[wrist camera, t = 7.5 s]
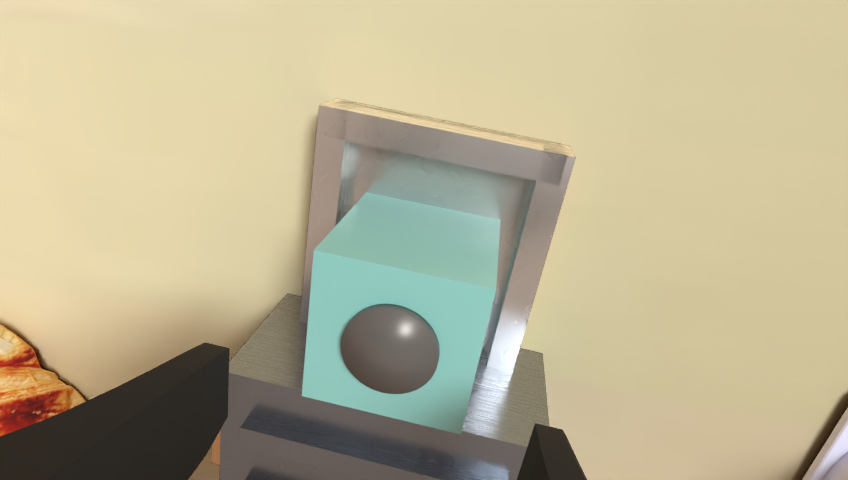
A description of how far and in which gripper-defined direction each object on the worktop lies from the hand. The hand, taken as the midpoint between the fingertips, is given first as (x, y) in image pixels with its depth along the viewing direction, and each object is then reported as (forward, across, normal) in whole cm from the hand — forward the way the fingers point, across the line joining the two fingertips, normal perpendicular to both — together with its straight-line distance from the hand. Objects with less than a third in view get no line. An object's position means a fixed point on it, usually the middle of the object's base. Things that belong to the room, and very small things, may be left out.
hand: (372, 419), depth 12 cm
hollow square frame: (+9, +1, +2) cm, 10 cm away
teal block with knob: (+9, 0, 0) cm, 9 cm away
